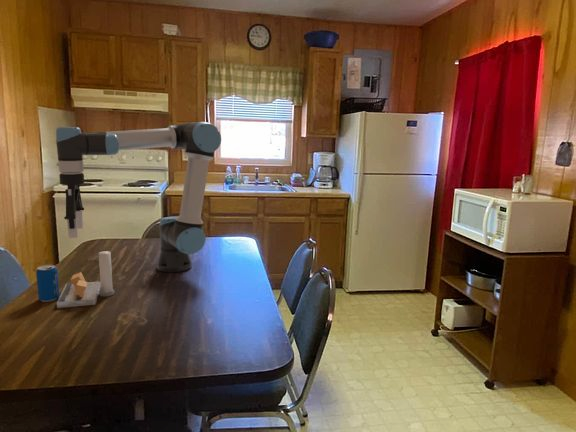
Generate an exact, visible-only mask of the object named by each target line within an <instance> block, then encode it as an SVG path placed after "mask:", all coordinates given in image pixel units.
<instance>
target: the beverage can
mask: <svg viewBox="0 0 576 432" xmlns="http://www.w3.org/2000/svg"><path fill="white" fill-rule="evenodd" d="M35 273H36V281H37V282H36V283H37V284H36V285H37V293H38V295H37V296H38V300H39V301H41V302H42V303H51V302H54V301H57V300H58V299H59V297H60V284H59V274H58V268H57V266H56V265H54V264H45V265H40V266H38V267H37V269H36V271H35Z"/></svg>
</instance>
